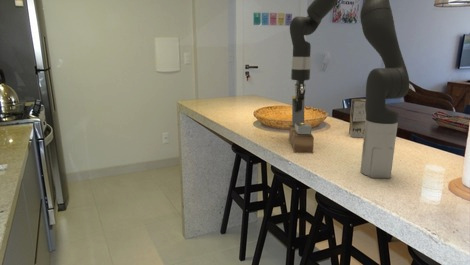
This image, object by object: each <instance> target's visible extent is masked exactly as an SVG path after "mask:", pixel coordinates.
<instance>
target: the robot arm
mask: <svg viewBox="0 0 470 265" xmlns="http://www.w3.org/2000/svg"><path fill="white" fill-rule="evenodd" d="M337 2H338V0H313V1H312V2H311V3H310V5H308V7H307V9H306V12H307V16H294V17H293V18H292V19H291V21H290V24H289V34H290V38H291V39H290V40H291V44H292V59H291V74H290V79H291V80H292V81H296V83H295V84H294V96H296V97H295V98H296V109H297V110H302V101H303V100H304V101H305V99H304V96H305V93H306V84H305V81H309V80H310V79H311V77H310V76H311V51H312V50H311V48H312V47H311V43H310V42H309V41H306V39H305V36H310V35H312V34H313V33H315V32H316V31H317V29H318V28H319V26H320V24H321V23H322V20H323V19H324V18H325V17H326V16H327V15H328V14H329V13H330V12H331V11H332V9H333V8H334V7H335V6H336V4H337ZM359 15H360V16H359V18H360V23H361V29H362V33H363V36H364V38H365V39H366V41H367V42H368V43H369V44H370V45H371V47H372V48H373V49H374V50H375V51H376V52H377V53H378V54H379V56H380V58H381V60H382V62H383V65H384V67H378V68H372V69H371V71H370V72H369V73H368V76H367V79H366V84H365V85H366V86H365V99H366V101H365V111H366V122H365V131H364V138H363V143H362V151H361V161H360V170H359V171H360V173H361V174H363V175H364V176H367V177H369V178H370V179H371V178H372V179H374V178H375V179H378V178H379V179H391V177H392V170H393V165H394V164H393V163H394V154H395V148H396V147H395V146H396V139H397V132H398V125H399V113H398V111H396V110H393V109H390V108H388V107H387V105H386V100H389V99H390V100H393V99H402V98H405V96H407V94H408V92H409V90H410V76H409V72H408V69H407V67H406V63H405V60H404V57H403V54H402V52H401V48H400V45H399V41H398V37H397V32H396V27H395V21H394V16H393V11H392V7H391V3H390V0H364V1H363V3H362V7H361V9H360V14H359Z"/></svg>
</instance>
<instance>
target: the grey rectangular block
mask: <svg viewBox="0 0 470 265" xmlns="http://www.w3.org/2000/svg"><path fill="white" fill-rule="evenodd" d="M312 129H313V128H312V125H310V124H308V123H305V122H304V123H300V124H295V132H296V133H297V134H312Z"/></svg>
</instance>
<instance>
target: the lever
mask: <svg viewBox="0 0 470 265" xmlns="http://www.w3.org/2000/svg"><path fill="white" fill-rule="evenodd" d="M295 97H296V96H295V95H291V105H292V106H291V107H292V108H291V114H292V115H291V125H295V124H300V123H305V98H306V96H305V95H304V100H303V101H302V110H297V109H296V98H295Z"/></svg>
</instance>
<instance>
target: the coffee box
mask: <svg viewBox="0 0 470 265" xmlns="http://www.w3.org/2000/svg"><path fill="white" fill-rule="evenodd" d="M365 101H366V98H351V102H350V104H351V106H350V115H349V128H348V129H349V130H348V133H349V135H350V137H351V138H361V139H364V131H365V122H366V111H365Z"/></svg>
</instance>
